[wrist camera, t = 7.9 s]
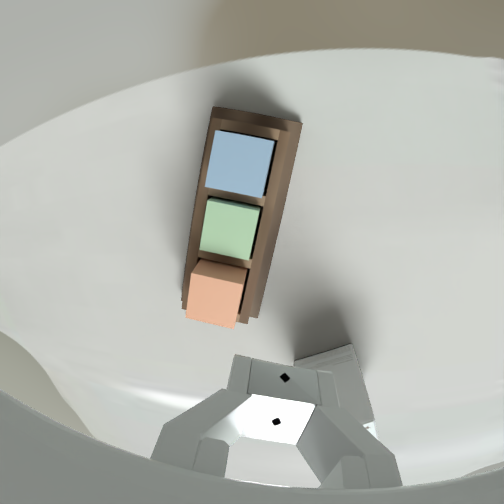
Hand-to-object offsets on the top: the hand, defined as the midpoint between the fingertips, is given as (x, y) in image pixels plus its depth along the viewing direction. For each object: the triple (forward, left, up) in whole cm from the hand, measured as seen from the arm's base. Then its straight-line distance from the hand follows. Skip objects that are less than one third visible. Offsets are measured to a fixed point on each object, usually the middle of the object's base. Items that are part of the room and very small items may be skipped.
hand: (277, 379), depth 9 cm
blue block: (+4, -5, -25) cm, 25 cm away
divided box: (+4, +2, -29) cm, 30 cm away
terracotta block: (+4, +9, -24) cm, 26 cm away
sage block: (+4, +2, -27) cm, 27 cm away
